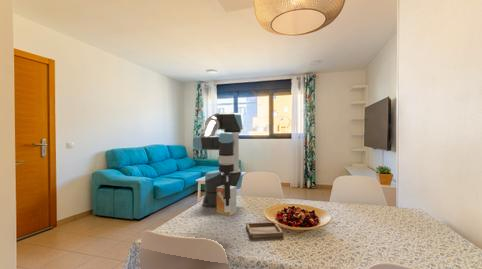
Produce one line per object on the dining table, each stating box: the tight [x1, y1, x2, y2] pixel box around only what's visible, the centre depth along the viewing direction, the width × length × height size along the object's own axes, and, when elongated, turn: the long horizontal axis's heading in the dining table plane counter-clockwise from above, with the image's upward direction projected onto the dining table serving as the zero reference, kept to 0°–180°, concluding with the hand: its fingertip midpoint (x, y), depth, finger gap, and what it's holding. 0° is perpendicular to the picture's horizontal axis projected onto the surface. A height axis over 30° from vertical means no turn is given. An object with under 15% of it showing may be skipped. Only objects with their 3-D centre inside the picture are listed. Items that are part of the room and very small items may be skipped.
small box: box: [216, 185, 237, 217], centre depth 116 cm, size 8×6×13 cm
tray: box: [245, 221, 284, 241], centre depth 118 cm, size 14×16×2 cm
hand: (226, 208), depth 116 cm, fingers closed on small box, 10 cm apart
